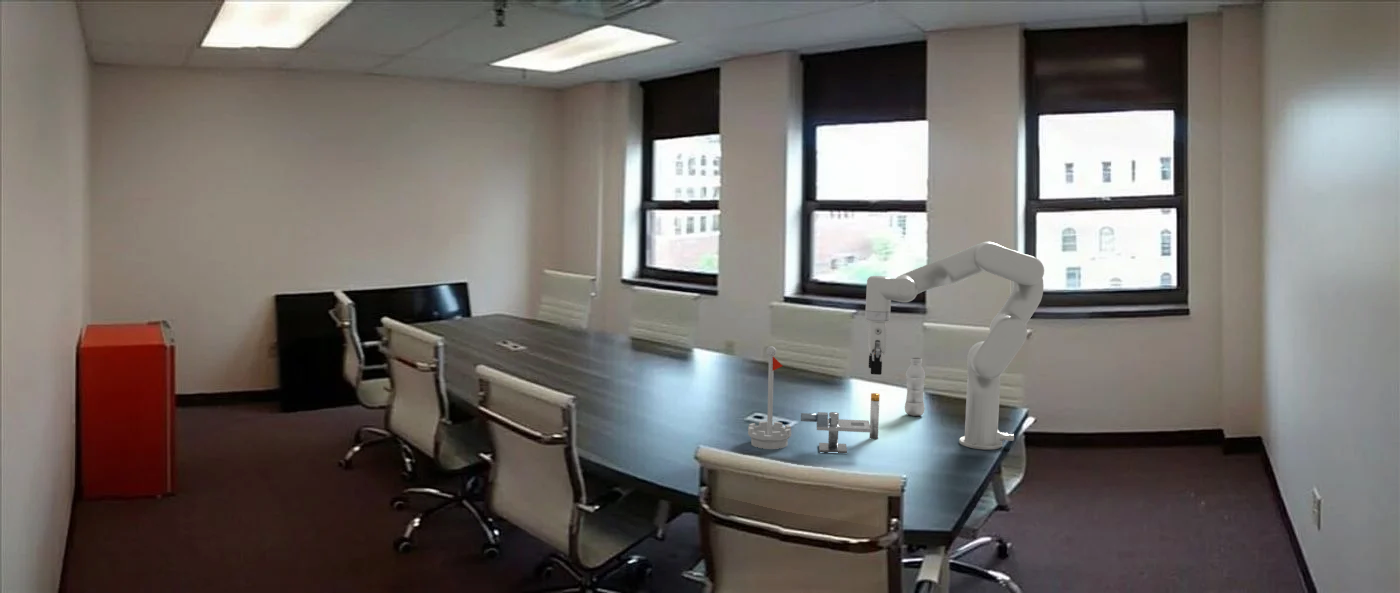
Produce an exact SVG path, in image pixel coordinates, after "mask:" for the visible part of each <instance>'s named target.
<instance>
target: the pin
mask: <svg viewBox="0 0 1400 593" xmlns="http://www.w3.org/2000/svg"><path fill="white" fill-rule="evenodd" d="M880 397H881V396H880V393H879V392H872V393H870V413H869V424H870V428H871V432H869V439H870V438H871V439H870V440H878V439H879V421H880V418H879V417H880Z"/></svg>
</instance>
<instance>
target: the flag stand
mask: <svg viewBox="0 0 1400 593" xmlns="http://www.w3.org/2000/svg"><path fill="white" fill-rule="evenodd" d="M766 354H767V355H768V376H767V377H768V379H767V381H768V382H767V384H768V385H767V420H766V421H759V422H758V425H756V423H755V422H754V423H753V422H752V423H749V424H748V428H747V435H748V436H749V437H750V438H751V439H750V440H751V442H750V443H751V444H750V445H751V446H752V447H755V448H757V447H758V449H762V448H763V449H764V450H777V449H779V448H780V449H784V448H786V447H788V443H789V442H788V440H789V439H790V438H791V437H792V426H791V425H789V424H785V425H784V426H783V422H778V421H774V422H773V417H774V416H773V409H774V408H773V407H774V371H776V370H777V369H779V368H781V367H783V364H782V363H781V362H779V360H778V359H776V358H775V355H776V354H777V349H776V347H774V346H768V347H767V348H766Z"/></svg>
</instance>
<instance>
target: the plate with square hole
mask: <svg viewBox="0 0 1400 593" xmlns="http://www.w3.org/2000/svg"><path fill="white" fill-rule="evenodd" d="M839 417H840V413H839V412H836V411H831V412H829V413H828V412H823V411H822V412H821V411H820V412H819V411H818V412H817V413H808V412H807V413H804V412H803V413H800V422H807V423H809V422H811V423H816V431H828V441H827V442H819V443H818V444H819V446H818V447H819V448H818V449H819V452H838V453H847V454H848V448H847V443H839V432H850V433H851V432H855V433H870V432H871V428H870V420H867V419H866V420H862V419H861V420H860V419H840V418H839Z"/></svg>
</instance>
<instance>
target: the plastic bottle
mask: <svg viewBox="0 0 1400 593" xmlns="http://www.w3.org/2000/svg"><path fill="white" fill-rule="evenodd" d="M909 364H910V365H909V367H908V368H907V369H906V371H905V380H906V388H907V389H906V399H905V404H904V412H905V414H907V415H909V416H913V417H919V416H922V415H924V414H925V409H926V408H925V402H924V401H925V400H924V388H925V379H926V371H925V369H924V367H923V366H922V364H923V358H922V357H910V362H909Z"/></svg>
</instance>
